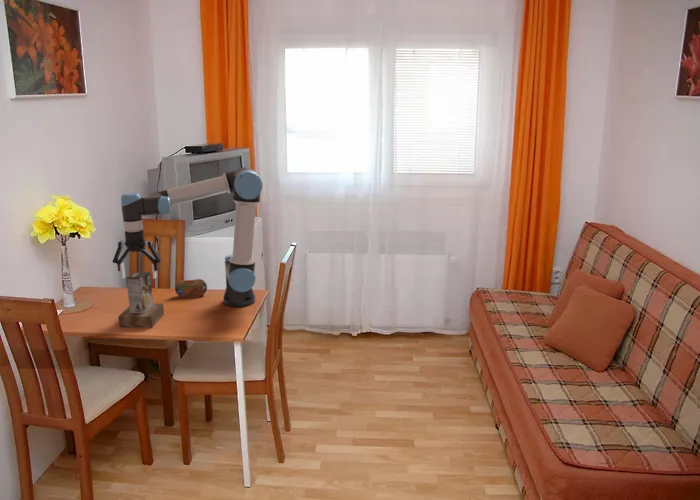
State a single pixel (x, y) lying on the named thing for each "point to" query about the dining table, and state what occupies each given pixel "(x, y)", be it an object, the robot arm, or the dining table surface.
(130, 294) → the coffee box
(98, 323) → the dining table surface
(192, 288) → the tin
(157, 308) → the walnut plinth
